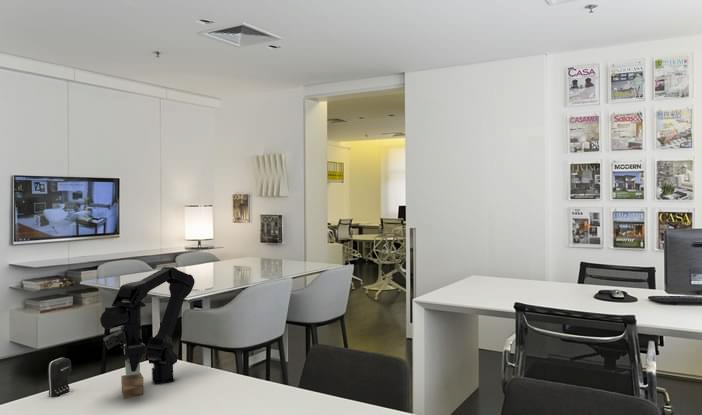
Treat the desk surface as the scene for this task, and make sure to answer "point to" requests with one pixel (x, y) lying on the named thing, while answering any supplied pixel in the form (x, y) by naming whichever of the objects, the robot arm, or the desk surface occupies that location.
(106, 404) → the desk surface
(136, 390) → the block
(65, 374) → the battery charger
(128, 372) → the sage block
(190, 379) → the desk surface
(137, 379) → the brown square block
